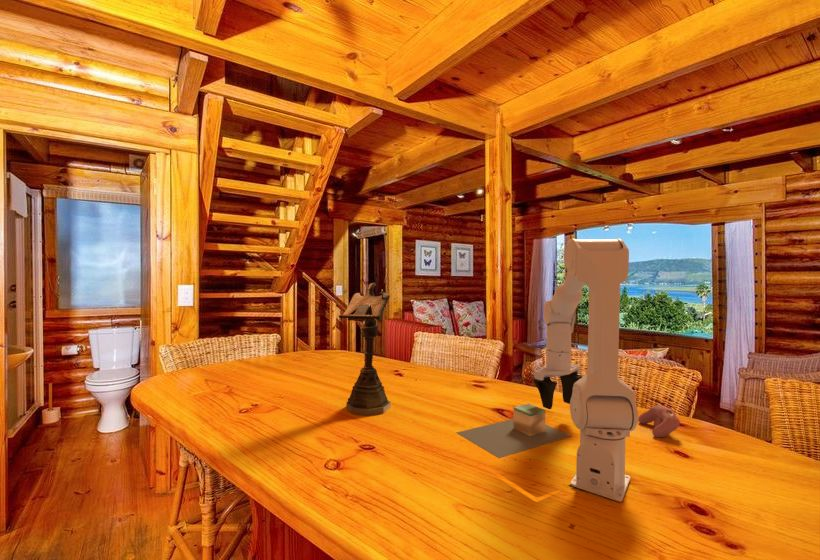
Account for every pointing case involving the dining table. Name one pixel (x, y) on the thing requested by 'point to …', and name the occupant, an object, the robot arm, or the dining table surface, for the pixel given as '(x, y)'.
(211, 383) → the dining table surface
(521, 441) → the rubber mat
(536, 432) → the birch block
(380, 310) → the book stand
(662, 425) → the video game controller
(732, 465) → the dining table surface
